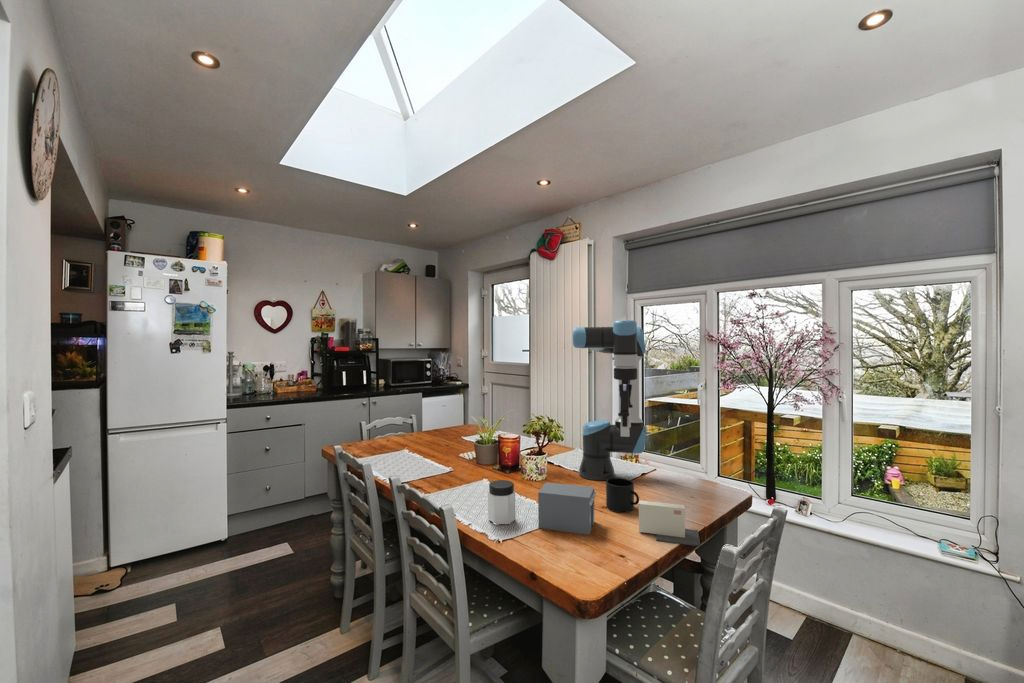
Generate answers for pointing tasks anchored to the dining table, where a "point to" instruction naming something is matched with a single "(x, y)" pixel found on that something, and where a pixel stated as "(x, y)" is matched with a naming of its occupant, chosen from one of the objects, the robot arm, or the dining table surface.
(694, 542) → the mat
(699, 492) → the dining table surface
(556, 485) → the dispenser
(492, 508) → the jar
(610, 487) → the mug
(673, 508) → the cream upright slab
